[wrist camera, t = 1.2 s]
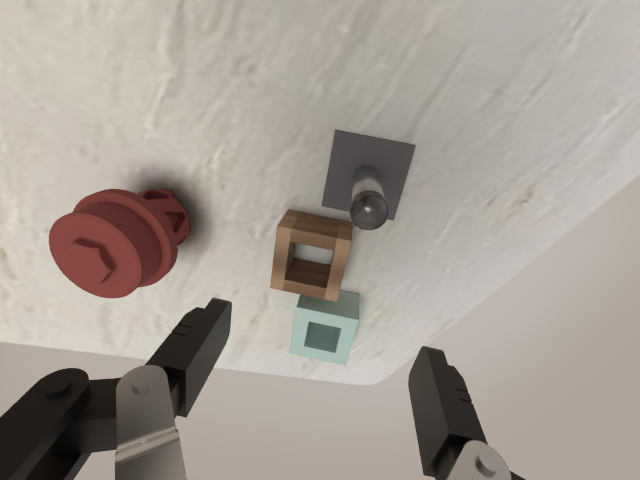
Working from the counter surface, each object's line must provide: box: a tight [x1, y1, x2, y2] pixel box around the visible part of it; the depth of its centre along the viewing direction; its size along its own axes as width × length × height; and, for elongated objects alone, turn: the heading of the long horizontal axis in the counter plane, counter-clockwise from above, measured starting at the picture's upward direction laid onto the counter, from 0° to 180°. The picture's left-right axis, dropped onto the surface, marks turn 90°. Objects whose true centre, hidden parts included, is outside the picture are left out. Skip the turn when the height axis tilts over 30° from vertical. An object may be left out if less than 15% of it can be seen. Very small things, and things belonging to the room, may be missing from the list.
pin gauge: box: [350, 165, 388, 230], centre depth 27 cm, size 3×3×11 cm
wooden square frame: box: [270, 210, 352, 302], centre depth 34 cm, size 7×7×5 cm
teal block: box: [289, 290, 359, 366], centre depth 37 cm, size 7×7×5 cm
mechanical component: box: [49, 189, 190, 298], centre depth 31 cm, size 12×10×10 cm
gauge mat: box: [322, 130, 416, 220], centre depth 32 cm, size 8×8×1 cm
